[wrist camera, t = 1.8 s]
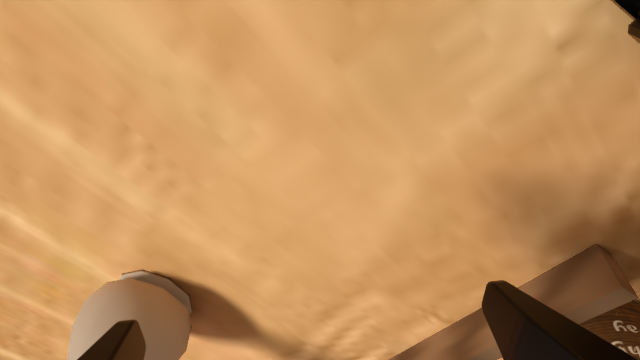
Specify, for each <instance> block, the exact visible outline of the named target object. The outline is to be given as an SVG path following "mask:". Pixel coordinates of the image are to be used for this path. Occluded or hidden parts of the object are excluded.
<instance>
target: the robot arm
mask: <svg viewBox="0 0 640 360" xmlns="http://www.w3.org/2000/svg"><path fill="white" fill-rule="evenodd" d="M611 1H612V2H613V3H615V4H616V5H617V6H618V7H619V8H620V9H622V10H623V11H624V12H625V13H626V14H627V15H629V16H630V17H631V18H632V19H633V20H634V21H633V22H632V23H631V24H629V27H628V34H629V35H630V36H632V37H633V38H634V39H635V40H636V41H637V42H639V43H640V0H611ZM482 311H483V314H484V316H485V318H486V321H487V323H488V325H489V328H490V330H491V332H492V334H493V337H494V339H495V341H496V344H497V346H498V348H499V350H500V353H501V355H502V357H503V359H504V360H638V359H637V358H635V357H633V356H632V355H630V354H628V353H627V352H625V351H623V350H621V349H620V348H618V347H616V346H615V345H613V344H611V343H610V342H608V341H606V340H605V339H603V338H601V337H599V336H598V335H596V334H594V333H593V332H591V331H589V330H588V329H586V328H584V327H582V326H581V325H579V324H577V323H576V322H574V321H572V320H571V319H569V318H567V317H566V316H564V315H562V314H560V313H559V312H557V311H555V310H554V309H552V308H550V307H549V306H547V305H545V304H543V303H542V302H540V301H538V300H537V299H535V298H533V297H532V296H530V295H528V294H527V293H525V292H523V291H521V290H520V289H518V288H516V287H515V286H513V285H511V284H510V283H508V282H506V281H503V280H500V281H491V282H489V283H488V284H487V285H486V289H485V293H484V297H483V301H482ZM145 352H146V342H145V339H144V336H143V333H142V330H141V328H140V325H139V323H138V321H137V320H135V319H131V320H121V321H118V322H117V323H115V324H114V325H113V326H112V327H111V328H110V329H109V330H108V331H107V332H106V333H105V334H104V335H102V336H101V337H100V338H99V339H98V340H97V341H96V342H95V343H94V344H93V345H92V346H91V347H90V348H89V349H88V350H87V351H85V352H84V353H83V354H82V355H81V356H80V357H79V358H78V359H77V360H144V357H145Z"/></svg>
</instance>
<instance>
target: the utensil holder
mask: <svg viewBox="0 0 640 360" xmlns="http://www.w3.org/2000/svg"><path fill="white" fill-rule="evenodd" d="M579 325H581V326H582V327H584V328H586V329H588V330H589V331H591V332H593V333H594V334H596V335H598V336H599V337H601V338H603V339H605V340H606V341H608V342H610V343H611V344H613V345H615V346H616V347H618V348H620V349H621V350H623V351H625V352H627V353H628V354H630V355H632V356H633V357H635V358H637V359H638V360H640V307H639V306H638V305H636V304H635V303H633V302H631V301H630V302H628V303H626V304H623V305H621V306H619V307H616V308H614V309H612V310H609V311H607V312H605V313H603V314H600V315H598V316H596V317H593V318H591V319H589V320H587V321H584V322H582V323H580V324H579Z"/></svg>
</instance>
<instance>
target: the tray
mask: <svg viewBox="0 0 640 360" xmlns="http://www.w3.org/2000/svg"><path fill="white" fill-rule="evenodd" d="M518 289H520V290H521V291H523V292H525V293H527V294H528V295H530V296H532V297H533V298H535V299H537V300H538V301H540V302H542V303H543V304H545V305H547V306H549V307H550V308H552V309H554V310H555V311H557V312H559V313H560V314H562V315H564V316H566V317H567V318H569V319H571V320H572V321H574V322H576V323H577V324H580V323H582V322H584V321H587V320H589V319H591V318H593V317H596V316H598V315H600V314H603V313H605V312H607V311H609V310H612V309H614V308H616V307H619V306H621V305H623V304H626V303H628V302H630V301H632V300H635V299H637V298H638V296H637V295H636V293H635V291H634V290H633V288H632V287H631V285H630V284H629V282H628V281H627V279H626V277H625V276H624V274H623V273H622V271H621V270H620V268H619V267H618V265H617V263H616V262H615V260H614V259H613V257H612V256H611V254H610V253H608V252H607V251H605V250H604V249H602V248H601V247H599V246H598V245H594V246H592V247H590V248H589V249H587V250H585V251H583V252H581V253H580V254H578V255H576V256H574V257H572V258H571V259H569V260H567V261H565V262H563V263H562V264H560V265H558V266H556V267H555V268H553V269H551V270H549V271H547V272H546V273H544V274H542V275H540V276H538V277H537V278H535V279H533V280H531V281H529V282H528V283H526V284H524V285H522V286H520V287H519V288H518ZM499 358H502V355H501V353H500V350H499V348H498V346H497V344H496V341H495V339H494V337H493V334H492V332H491V330H490V328H489V325H488V323H487V321H486V318H485V316H484V314H483V311H482V308H481V309H479V310H477V311H476V312H474V313H472V314H470V315H468V316H467V317H465V318H463V319H461V320H460V321H458V322H456V323H454V324H452V325H451V326H449V327H447V328H445V329H443V330H442V331H440V332H438V333H436V334H434V335H433V336H431V337H429V338H427V339H425V340H424V341H422V342H420V343H418V344H417V345H415V346H413V347H411V348H409V349H408V350H406V351H404V352H402V353H400V354H399V355H397V356H395V357H393V358H391V359H390V360H497V359H499Z"/></svg>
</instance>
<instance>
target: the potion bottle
mask: <svg viewBox="0 0 640 360" xmlns="http://www.w3.org/2000/svg"><path fill="white" fill-rule="evenodd" d="M191 313H192V306H191V301H190V296H189V294H187V293H186V292H185V291H184V290H183V289H181V288H180V287H179V286H178V285H177V284H175V283H174V282H173V281H172V280H171V279H169V278H166V277H163V276H160V275H157V274H154V273H151V272H148V271H145V270H138V271H133V272H128V273H123V274H122V275H121V277H120V280H118V281H112V282H107V283H106V284H105V285H103V286H102V287H101V288H100V289H98V290H97V291H96V292H95V293H93V294H92V295H91V296H90V297H88V298H87V299H86V300H85V301H84V303H83V305H82V307H81V309H80V311H79V314H78V316H77V318H76V320H75V322H74V324H73V326H72V330H71V337H70V343H69V350H68V360H77V359H78V358H79V357H80V356H81V355H82V354H83V353H84V352H85V351H87V350H88V349H89V348H90V347H91V346H92V345H93V344H94V343H95V342H96V341H97V340H98V339H99V338H100V337H101V336H102V335H104V334H105V333H106V332H107V331H108V330H109V329H110V328H111V327H112V326H113V325H114V324H115V323H117V322H118V321H121V320H131V319H135V320H137V321H138V323H139V325H140V328H141V330H142V333H143V336H144V339H145V342H146V352H145V357H144V360H179V359H180V357H181V356H182V355H183V354H184V352H185V351H186V349H187V344H188V340H189V335H190V331H191V327H192V326H191V321H190V316H189V314H191Z"/></svg>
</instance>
